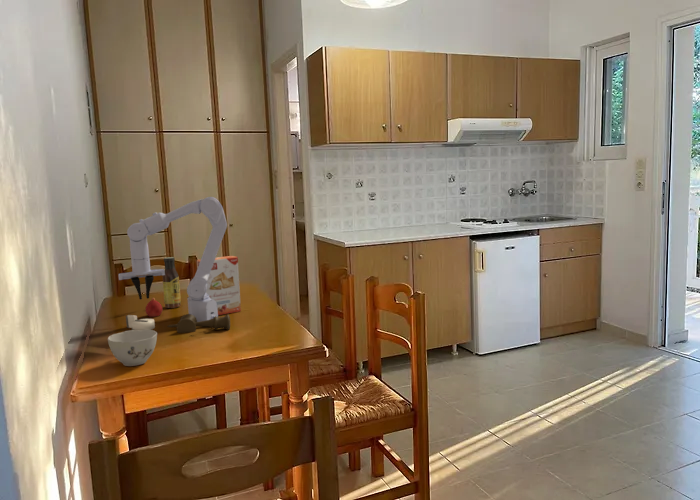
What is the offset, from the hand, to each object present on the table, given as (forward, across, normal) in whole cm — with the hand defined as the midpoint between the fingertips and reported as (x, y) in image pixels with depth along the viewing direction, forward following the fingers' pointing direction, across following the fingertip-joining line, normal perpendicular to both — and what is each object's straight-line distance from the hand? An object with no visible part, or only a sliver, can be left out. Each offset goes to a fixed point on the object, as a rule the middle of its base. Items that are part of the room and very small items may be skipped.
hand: (144, 298), depth 186 cm
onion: (+11, -4, -12) cm, 16 cm away
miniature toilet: (+9, +2, +4) cm, 10 cm away
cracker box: (+11, -27, -6) cm, 29 cm away
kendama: (+11, -15, +15) cm, 24 cm away
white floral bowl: (+11, +6, +37) cm, 39 cm away
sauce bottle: (+11, -12, -30) cm, 34 cm away
